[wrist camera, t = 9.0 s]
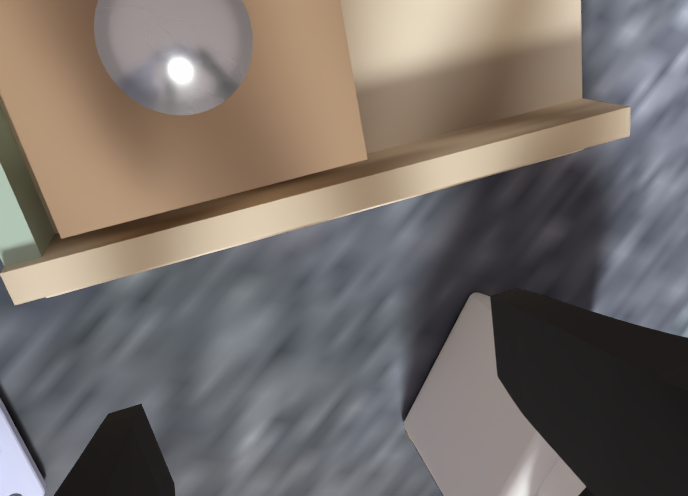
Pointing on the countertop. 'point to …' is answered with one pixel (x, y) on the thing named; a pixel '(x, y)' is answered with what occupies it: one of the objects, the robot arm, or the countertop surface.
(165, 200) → the block with knob
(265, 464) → the countertop surface
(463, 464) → the medicine bottle
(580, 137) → the bay
